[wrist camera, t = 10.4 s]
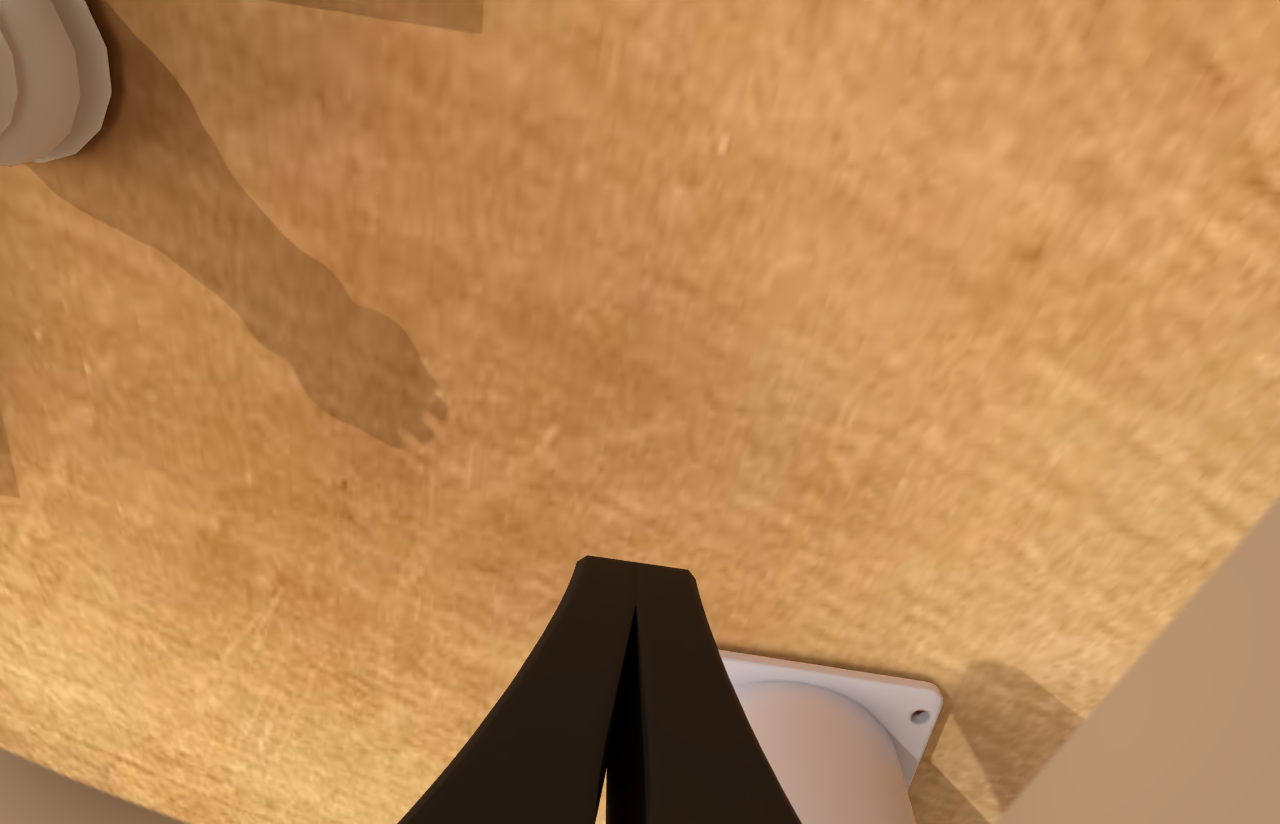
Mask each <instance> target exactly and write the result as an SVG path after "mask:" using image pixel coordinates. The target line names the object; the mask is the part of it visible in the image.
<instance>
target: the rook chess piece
mask: <svg viewBox="0 0 1280 824" xmlns="http://www.w3.org/2000/svg"><path fill="white" fill-rule="evenodd" d="M111 94H112V90H111V81H110V72H109V64H108V55H107V47H106V45H105V43H104V41H103V39H102V37H101V34H100V32H99V30H98V28H97V26H96V24H95V22H94V19H93V17H92V15H91V13H90V11H89V9H88V6H87V4H86V2H85V1H84V0H0V165H1V166H9V167H11V166H15V165H19V164H23V163H27V162H30V161H32V162H37V163H44V162H48V161H51V160H55V159H59V158H63V157H67V156H70V155H74V154H76V153H77V152H78V151H80V150H81V149H82V148H83V147H84V146H85V145H86V144H87V143H88V142H89V141H90V140H91V139H92V138H93V137H94V136H95V135H96V134H97V133H98V132H99V131H100V130H101V127H102V124H103V120H104V117H105V114H106V110H107V107H108V104H109V100H110V97H111Z"/></svg>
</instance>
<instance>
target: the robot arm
mask: <svg viewBox="0 0 1280 824" xmlns="http://www.w3.org/2000/svg"><path fill="white" fill-rule="evenodd" d="M942 706H943V698H942V695H941V692H940V690H939V688H938V687H937V686H936V685H935V684H933V683H930V682H926V681H920V680H913V679H907V678H900V677H894V676H887V675H881V674H874V673H868V672H861V671H855V670H848V669H842V668H835V667H829V666H822V665H816V664H809V663H803V662H796V661H790V660H783V659H777V658H771V657H764V656H758V655H751V654H745V653H738V652H732V651H725V650H719V649H718V648H717V646H716V643H715V640H714V638H713V635H712V632H711V630H710V627H709V624H708V621H707V618H706V615H705V612H704V609H703V606H702V602H701V599H700V595H699V592H698V588H697V584H696V579H695V578H694V577H693V575H692V574H691V573H690V572H689V570H685V569H678V568H671V567H665V566H658V565H651V564H644V563H637V562H630V561H623V560H616V559H609V558H602V557H595V556H588V555H587V556H586V557H584V558H582V559H581V560H579V561H577V563H576V567H575V570H574V573H573V576H572V578H571V581H570V583H569V585H568V588H567V590H566V592H565V594H564V596H563V598H562V600H561V602H560V604H559V606H558V608H557V610H556V611H555V613H554V615H553V617H552V619H551V620H550V622H549V624H548V626H547V627H546V629H545V631H544V633H543V634H542V636H541V637H540V639H539V641H538V642H537V644H536V645H535V647H534V648H533V650H532V652H531V653H530V655H529V656H528V658H527V659H526V661H525V663H524V664H523V666H522V667H521V669H520V670H519V672H518V674H517V675H516V677H515V678H514V679H513V681H512V682H511V684H510V685H509V687H508V688H507V690H506V691H505V692H504V694H503V695H502V696H501V698H500V699H499V700H498V702H497V703H496V704H495V706H494V707H493V708H492V710H491V711H490V712H489V714H488V715H487V717H486V718H485V719H484V721H483V722H482V723H481V725H480V726H479V727H478V729H477V730H476V731H475V733H474V734H473V735H472V737H471V738H470V739H469V741H468V742H467V743H466V744H465V746H464V747H463V748H462V749H461V751H460V752H459V753H458V754H457V756H456V757H455V758H454V759H453V760H452V762H451V763H450V764H449V765H448V767H447V768H446V769H445V770H444V771H443V773H442V774H441V775H440V776H439V777H438V778H437V780H436V781H435V782H434V783H433V784H432V785H431V787H430V788H429V789H428V790H427V791H426V792H425V793H424V795H423V796H422V797H421V798H420V799H419V800H418V801H417V803H416V804H415V805H414V806H413V807H412V808H411V809H410V810H409V812H408V813H407V814H406V815H405V816H404V817H403V818H402V819H401V820H400V821H399V822H398V823H397V824H595V822H596V817H597V812H598V807H599V802H600V797H601V793H602V788H603V783H604V778H605V773H606V768H607V786H606V824H916V822H915V818H914V815H913V811H912V807H911V803H910V800H909V796H908V790H909V787H910V785H911V782H912V780H913V777H914V775H915V772H916V770H917V768H918V765H919V763H920V760H921V758H922V755H923V753H924V750H925V748H926V745H927V743H928V741H929V738H930V736H931V733H932V731H933V728H934V726H935V723H936V721H937V718H938V716H939V714H940V711H941V709H942ZM920 710H923V712H921V713H918V714H914V712H916V711H920Z"/></svg>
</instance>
